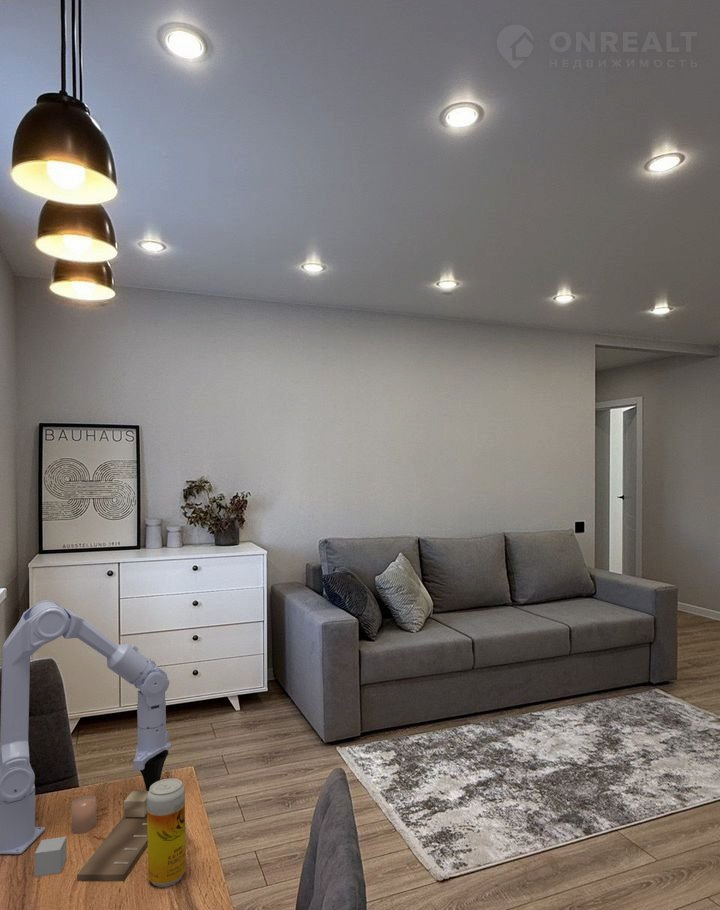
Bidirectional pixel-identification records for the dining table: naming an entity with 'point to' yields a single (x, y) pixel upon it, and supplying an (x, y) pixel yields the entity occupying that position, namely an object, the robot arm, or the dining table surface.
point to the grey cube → (50, 856)
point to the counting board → (117, 851)
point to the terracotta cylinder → (83, 814)
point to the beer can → (166, 832)
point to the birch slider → (136, 804)
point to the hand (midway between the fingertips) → (152, 789)
